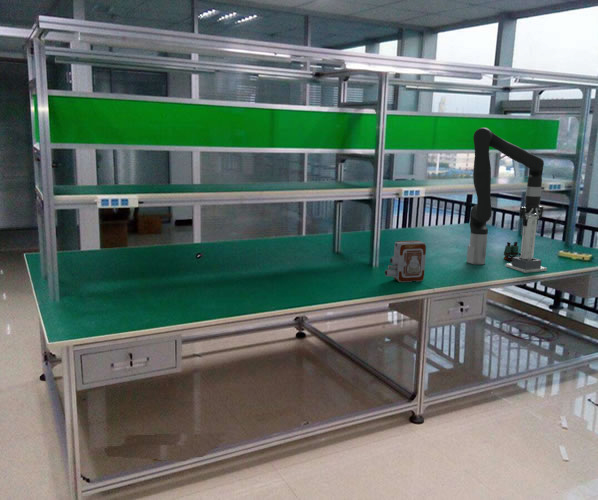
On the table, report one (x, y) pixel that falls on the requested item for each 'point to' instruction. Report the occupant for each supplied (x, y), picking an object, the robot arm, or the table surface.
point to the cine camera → (408, 261)
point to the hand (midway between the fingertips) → (529, 225)
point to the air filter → (528, 239)
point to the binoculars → (511, 251)
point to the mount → (526, 265)
